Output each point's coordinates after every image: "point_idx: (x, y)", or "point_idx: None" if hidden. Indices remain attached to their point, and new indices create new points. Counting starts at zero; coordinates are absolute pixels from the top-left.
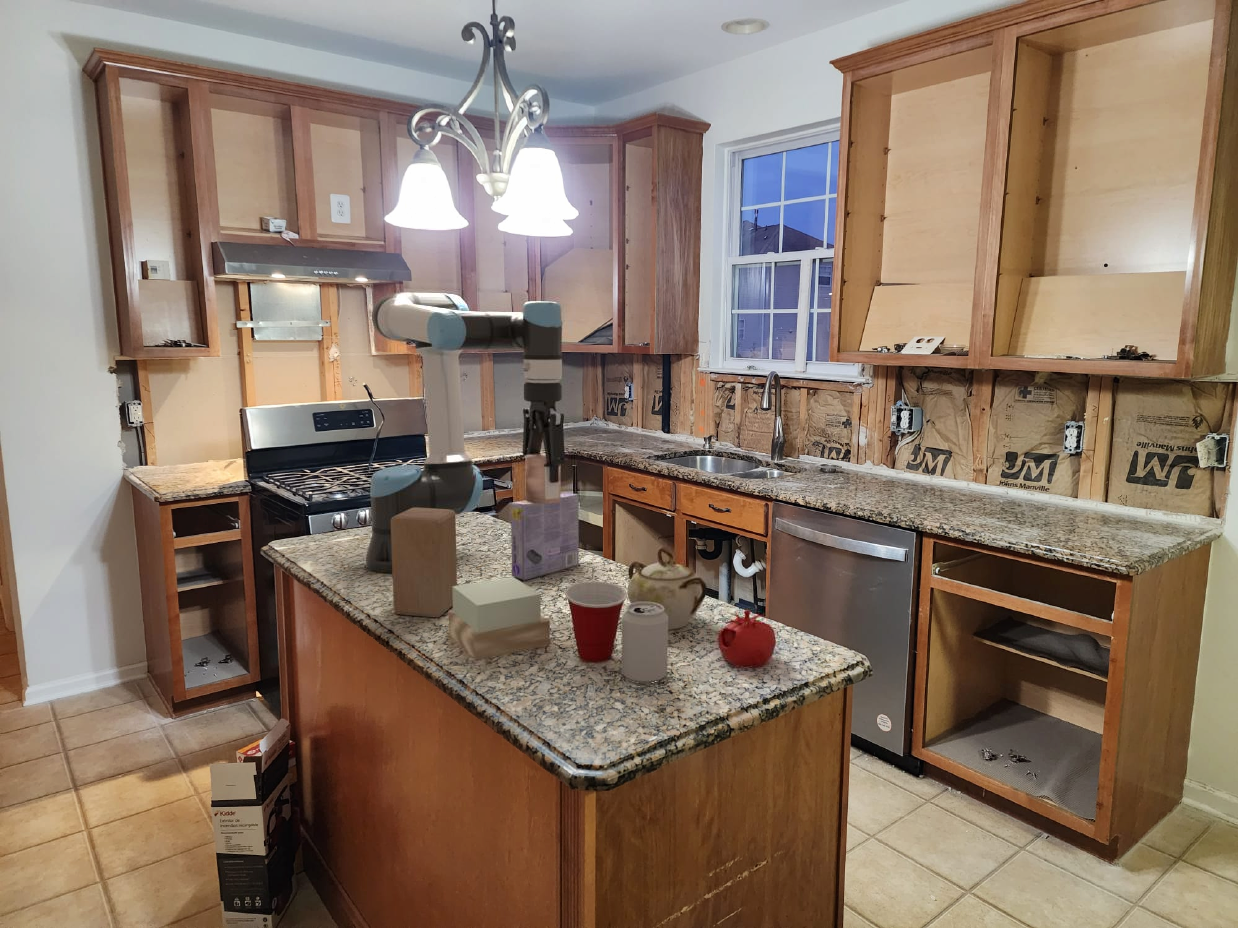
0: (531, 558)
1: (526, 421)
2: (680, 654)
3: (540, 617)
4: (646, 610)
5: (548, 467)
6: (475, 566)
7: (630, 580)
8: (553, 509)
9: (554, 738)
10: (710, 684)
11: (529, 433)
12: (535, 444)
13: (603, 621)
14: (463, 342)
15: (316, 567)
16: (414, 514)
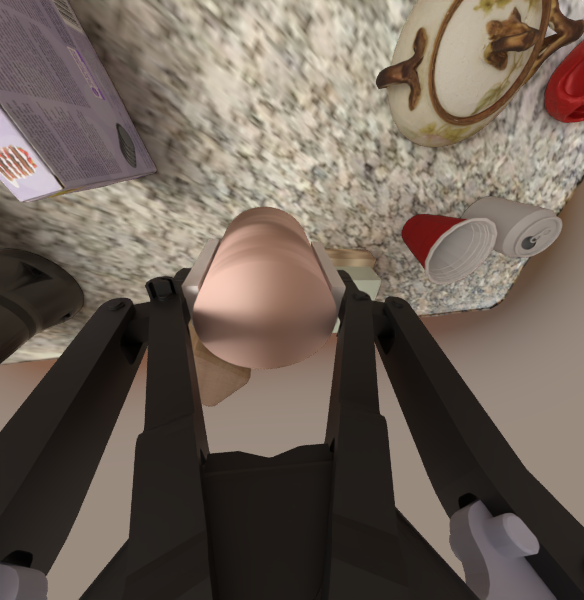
0: (132, 154)
1: (65, 535)
2: (488, 147)
3: (371, 268)
4: (539, 239)
5: (337, 316)
6: (52, 201)
7: (415, 125)
8: None
9: (464, 306)
10: (540, 173)
11: (102, 419)
12: (193, 363)
13: (463, 250)
14: None
15: (49, 349)
16: (210, 393)
